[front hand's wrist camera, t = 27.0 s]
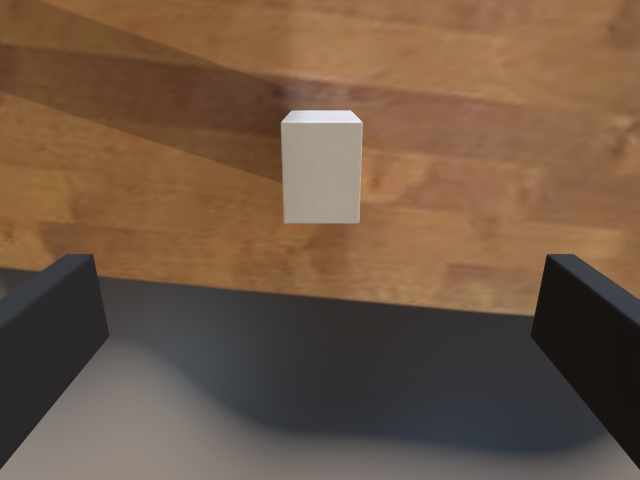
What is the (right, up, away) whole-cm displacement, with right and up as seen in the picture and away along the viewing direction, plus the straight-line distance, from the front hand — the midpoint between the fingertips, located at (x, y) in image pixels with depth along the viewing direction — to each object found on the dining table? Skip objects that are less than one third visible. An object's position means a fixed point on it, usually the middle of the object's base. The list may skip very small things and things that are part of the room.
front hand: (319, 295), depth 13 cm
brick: (0, +10, +25) cm, 27 cm away
